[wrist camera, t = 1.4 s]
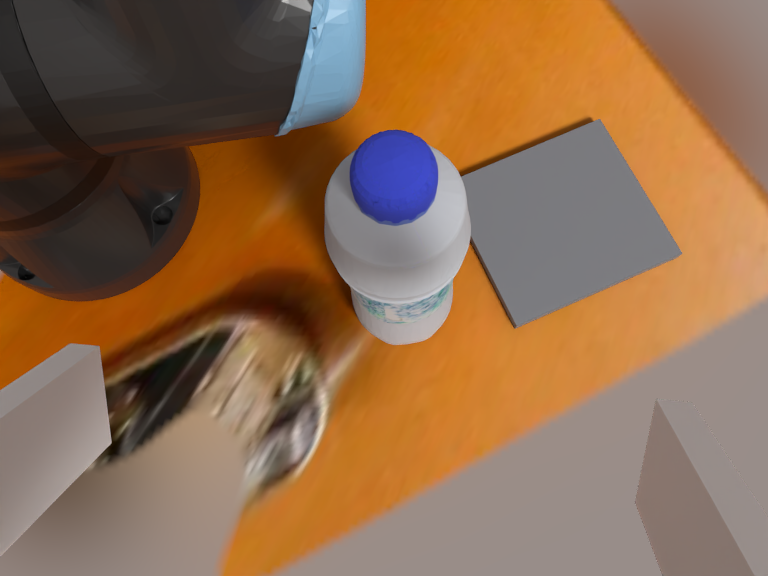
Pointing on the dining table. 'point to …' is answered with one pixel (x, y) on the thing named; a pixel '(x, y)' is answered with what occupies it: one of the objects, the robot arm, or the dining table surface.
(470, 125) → the dining table surface
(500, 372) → the dining table surface
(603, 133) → the mat
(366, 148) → the bottle
